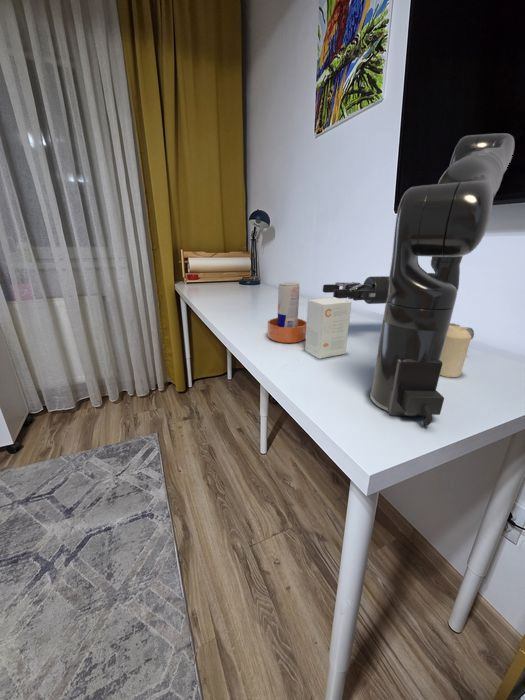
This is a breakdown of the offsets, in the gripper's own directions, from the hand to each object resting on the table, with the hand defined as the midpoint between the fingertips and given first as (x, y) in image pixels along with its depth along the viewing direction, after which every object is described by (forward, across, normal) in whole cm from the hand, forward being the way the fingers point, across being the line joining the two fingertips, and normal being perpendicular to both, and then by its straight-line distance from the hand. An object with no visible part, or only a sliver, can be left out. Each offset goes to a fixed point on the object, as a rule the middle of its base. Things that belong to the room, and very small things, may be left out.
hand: (328, 291), depth 79 cm
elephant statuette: (-26, +17, +13) cm, 34 cm away
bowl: (+11, 0, +13) cm, 17 cm away
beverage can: (+11, 0, +13) cm, 17 cm away
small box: (+4, +13, +13) cm, 19 cm away
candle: (-18, +27, +13) cm, 35 cm away
